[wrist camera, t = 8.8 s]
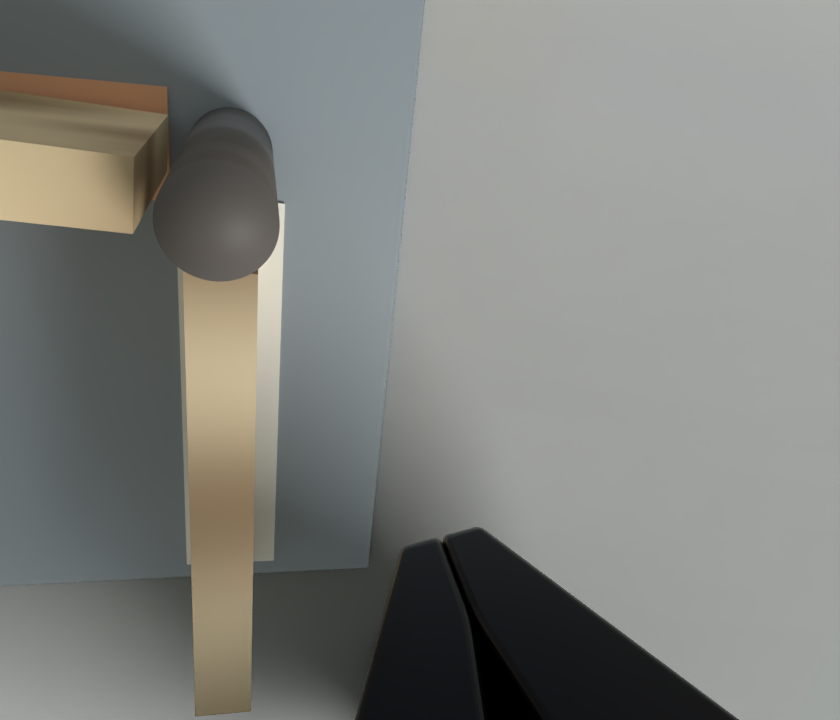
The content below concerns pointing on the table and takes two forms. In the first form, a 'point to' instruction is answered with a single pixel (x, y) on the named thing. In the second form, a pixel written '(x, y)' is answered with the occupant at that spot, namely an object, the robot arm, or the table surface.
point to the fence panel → (78, 162)
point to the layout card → (163, 286)
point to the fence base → (221, 378)
